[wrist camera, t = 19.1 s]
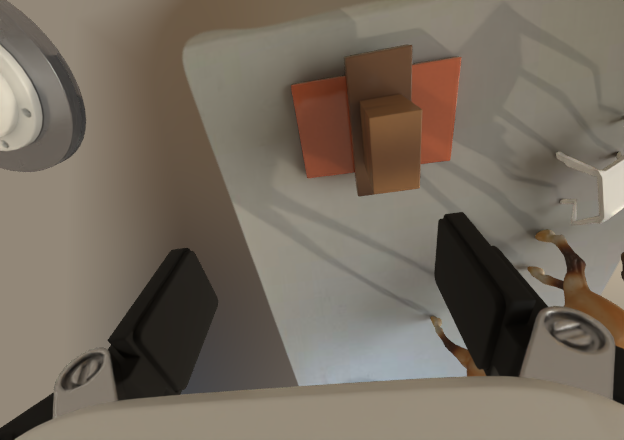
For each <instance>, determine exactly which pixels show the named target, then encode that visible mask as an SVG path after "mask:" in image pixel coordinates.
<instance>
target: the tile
mask: <svg viewBox="0 0 624 440" xmlns="http://www.w3.org/2000/svg"><path fill="white" fill-rule="evenodd" d="M460 66H461V57H450V58H444V59H438V60H432V61H426V62H420V63H414V64H412V102H413V103H414V104H415V105H417V106H418V107H420V108H421V109H422V135H421V164H425V163H433V162H441V161H449V160H450V157H451V148H452V139H453V130H454V121H455V112H456V102H457V93H458V84H459V75H460ZM291 90H292V95H293V101H294V107H295V112H296V118H297V124H298V129H299V135H300V141H301V146H302V152H303V158H304V163H305V169H306V174H307V178H314V177H322V176H330V175H338V174H346V173H354V172H355V168H354V157H353V147H352V137H351V126H350V116H349V106H348V95H347V85H346V75H342V76H336V77H330V78H324V79H318V80H312V81H306V82H300V83H294V84H292V85H291Z"/></svg>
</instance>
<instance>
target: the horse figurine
mask: <svg viewBox="0 0 624 440" xmlns="http://www.w3.org/2000/svg"><path fill="white" fill-rule="evenodd" d="M535 238H536V239H537V240H539V241H544V242H552V243H554V244H555V245H556V246H557V247H558V248H559V249H560V251H561V252H562V254H563V255H564V257H565V260H566V265H567V273H566V275H565V278H564V281H562V280H559V279H556V278H553V277H551V276H549V275H544V274H545V272H544V271H543V269H541V268H538V267H527V268H528V271H529V272H530V273H531V275H532V276H533V277H535V278H537V279H538V280H539V281H541V282H542V283H544V284H546V285H550V286H554V287H557V288H560V289H563V290H564V296H565V305H564V307H568V308H572V309H576V310H579V311H581V312H584V313H586V314H588V315H590V316H592V317H593V318H595V319H596V320H598V321H600V322H601V323H602V324H603V325H604V326H605V327H606V328H607V329H608V330H609V331H610V333H611V334H612V336H613V337H614V341H615V345H616V346H618V347H621V348H623V349H624V310H623V309H621V308H620V307H619V306H617V305H616V304H614V303H612V302H611V301H609V300H607V299H605V298H603V297H602V296H600V295H598V294H596V293H594V292H592V291H590V289H589V287H588V285H587V282H586V278H585V274H584V270H585V266H586V264H585V262H584V261H583V260H582V259H581V258H580V257H579V256H578V255H577V254H576V253H574V251H573V250H572V249H571V247H570V246H569V245H568V243H567V240H566V239H565V237H564V236H563V235H555V234H554V232H553V231H551V230H548V229H546V230H542V231H540V232H538V233H537V234H536V236H535ZM621 260H622V264H623V271H622V272H621V275H622V279H623V280H624V252H623V253H622V254H621ZM430 318H431V321H432V323H433V325H434V327H435V330H436V333H437V334H438V336H439V337H440V338H441V339H442V341H443V343H444V345H445V347H446V348H447V349H448V350H449V351H450V352H451V353H452V354H453V355H454V356H455V357H456V358H457V359H458V360H459V361H460V363H461V364H462V365H463V366H464V367H465V368H467V377H468V376H486V374H485V372H484V370H483V369H481V370H479V369H478V368H477V367H476V365H475V363H474V361H473V359H472V357H471V355H470V353H469V351H468V350H467V349H464V348H462V347H460V346H458V345H455V344H454V343H453V342H451V341H450V340H449V339H448V338H447V337H446V336H445V334H444V332H443V329H442V328H441V327H440V326H441V324H442V321H441V319H439V318H437V317H434V316H431V317H430Z"/></svg>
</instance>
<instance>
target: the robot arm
mask: <svg viewBox="0 0 624 440" xmlns="http://www.w3.org/2000/svg"><path fill="white" fill-rule="evenodd" d="M42 119H43V116H42V109H41V104H40V101H39V98H38V95H37V93H36V91H35V89H34V87H33V85H32V83H31V81H30V79H29V78H28V76H27V75H26V73H25V72H24V70H23V69H22V67H21V66H20V65H19V64H18V63H17V61H16V60H15V59H14V58H13V57H12V55H11V54H10V53H9V52H8V51H7V50H5V49H4V48H3V47H2V46H1V45H0V151H11V150H16V149H19V148H22V147H25V146H28V145H29V144H31V143H32V142H34V141H35V139H36V138H37V137H38V135H39V133H40V131H41V128H42ZM435 281H436V284H437V286H438V288H439V290H440V292H441V294H442V296H443V299H444V301H445V303H446V305H447V307H448V309H449V311H450V313H451V315H452V317H453V319H454V322H455V324H456V326H457V328H458V330H459V332H460V334H461V336H462V338H463V340H464V343H465V345H466V347H467V349H468V351H469V353H470V355H471V357H472V359H473V361H474V363H475V365H476V367H477V368H478V369H479V370H481V369H483V370H484V372H485V374H486V376H468V377H446V378H424V379H406V380H390V381H374V382H358V383H342V384H327V385H312V386H297V387H284V388H283V387H282V388H270V389H254V390H239V391H225V392H212V393H199V394H185V395H180V394H181V392H182V390H184V389H185V388H186V387H187V385H188V382H189V379H190V377H191V374H192V372H193V369H194V366H195V364H196V361H197V359H198V356H199V353H200V351H201V348H202V345H203V343H204V340H205V338H206V335H207V332H208V330H209V327H210V324H211V322H212V319H213V317H214V314H215V311H216V309H217V306H218V299H217V296H216V294H215V292H214V290H213V288H212V286H211V284H210V282H209V280H208V278H207V276H206V274H205V272H204V270H203V268H202V266H201V264H200V262H199V260H198V258H197V256H196V254H195V253H194V252H193V251H190V249H188V248H182V249H175V250H171V252H170V253H169V254H168V255H167V257H166V258H165V260H164V261H163V263H162V264H161V265H160V267H159V268H158V270H157V271H156V272H155V274H154V275H153V277H152V278H151V280H150V281H149V282H148V284H147V285H146V287H145V288H144V290H143V291H142V292H141V294H140V295H139V297H138V298H137V299H136V301H135V302H134V304H133V305H132V306H131V308H130V309H129V311H128V312H127V314H126V315H125V317H124V318H123V319H122V321H121V322H120V324H119V325H118V326H117V328H116V329H115V331H114V332H113V333H112V335H111V336H110V338H109V339H108V341H109V343H110V344H111V346H110V347H109V349H108V350H107V349H105V348H95V349H91V350H89V351H87V352H85V353H83V354H81V355H80V356H78V357H77V358H75V359H74V360H73V361H71V362H70V363H69V364H68V365H67V366H66V367H65V368H64V370H63V371H62V372H61V373H60V374H59V376H58V378H57V380H56V382H55V386H54V393H52V394H51V395H49V396H48V397H46V398H45V399H43V400H42V401H40V402H39V403H37V404H36V405H34V406H33V407H31V408H30V409H28V410H27V411H25V412H24V413H22V414H21V415H19V416H18V417H16V418H15V419H13V420H12V421H10V422H9V423H7V424H6V425H4V426H3V427H1V428H0V440H624V349H623V348H621V347H618V346H616V345H615V341H614V337H613V336H612V334H611V333H610V331H609V330H608V329H607V328H606V327H605V326H604V325H603V324H602V323H601V322H600V321H598V320H596V319H595V318H593V317H592V316H590V315H588V314H586V313H584V312H581V311H579V310H576V309H572V308H568V307H561V306H553V307H548V306H547V305H546V304H545V303H544V301H543V300H542V299H541V298H540V297H539V296H538V294H537V293H536V292H535V291H534V290H533V288H532V287H531V286H530V285H529V284H528V283H527V281H526V280H525V279H524V278H523V277H522V276H521V274H520V273H519V272H518V271H517V270H516V269H515V267H514V266H513V265H512V264H511V263H510V262H509V260H508V259H507V258H506V257H505V256H504V255H503V253H502V252H501V251H500V250H499V249H498V248H497V247H495V246H491V245H490V244H489V243H488V242H487V240H486V239H485V238H484V237H483V236H482V234H481V233H480V232H479V231H478V230H477V228H476V227H475V226H474V225H473V224H472V222H471V221H470V220H469V219H468V218H467V216H466V215H465V214H464V213H463V212H459V213H452V214H445V215H444V218H443V219H440V220H439V222H438V235H437V248H436V261H435Z"/></svg>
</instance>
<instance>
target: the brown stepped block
mask: <svg viewBox="0 0 624 440" xmlns="http://www.w3.org/2000/svg"><path fill="white" fill-rule="evenodd" d="M344 65H345V75H346V85H347V95H348V106H349V116H350V126H351V137H352V147H353V157H354V168H355V178H356V188H357V193H358V196H365V195H373V194H381V193H388V192H396V191H404V190H411V189H418V188H420V165H421V135H422V109H421V108H420V107H418V106H417V105H415V104H414V103H413V102H412V45H402V46H397V47H391V48H386V49H381V50H376V51H371V52H365V53H360V54H355V55H350V56H345V57H344Z"/></svg>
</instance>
